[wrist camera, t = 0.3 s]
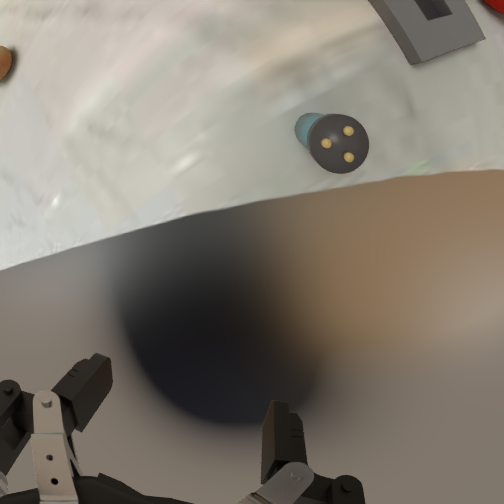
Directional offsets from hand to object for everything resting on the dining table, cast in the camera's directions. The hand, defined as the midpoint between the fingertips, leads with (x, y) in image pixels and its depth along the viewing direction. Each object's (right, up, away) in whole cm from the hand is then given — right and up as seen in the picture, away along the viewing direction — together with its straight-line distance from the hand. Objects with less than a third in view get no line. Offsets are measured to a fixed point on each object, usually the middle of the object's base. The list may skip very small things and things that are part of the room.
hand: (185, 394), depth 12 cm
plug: (+11, +22, +21) cm, 32 cm away
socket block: (+27, +42, +9) cm, 50 cm away
